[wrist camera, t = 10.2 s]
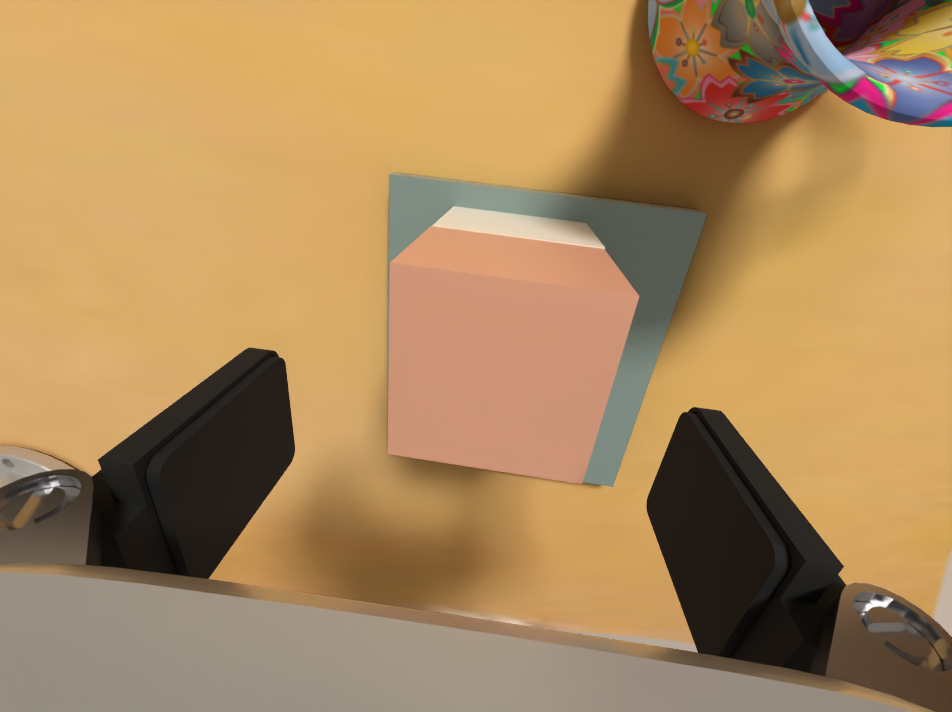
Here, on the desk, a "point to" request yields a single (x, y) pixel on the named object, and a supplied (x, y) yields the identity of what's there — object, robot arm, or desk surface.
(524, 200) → the baseplate
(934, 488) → the desk surface
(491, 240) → the terracotta brick
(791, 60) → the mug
